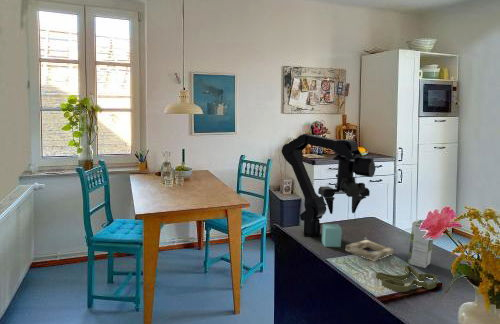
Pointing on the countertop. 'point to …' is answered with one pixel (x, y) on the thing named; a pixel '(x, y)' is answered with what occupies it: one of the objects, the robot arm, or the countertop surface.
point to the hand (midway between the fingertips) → (342, 213)
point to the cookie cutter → (396, 280)
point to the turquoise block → (331, 235)
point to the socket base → (380, 249)
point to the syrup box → (419, 247)
